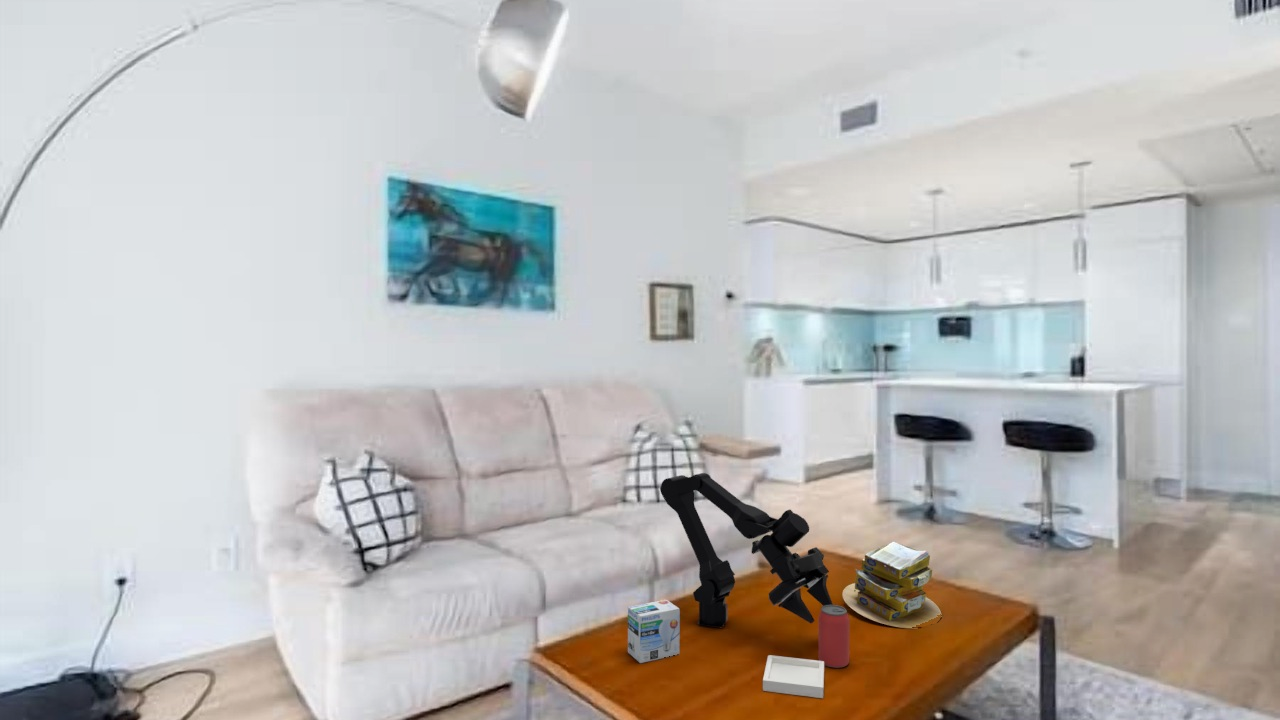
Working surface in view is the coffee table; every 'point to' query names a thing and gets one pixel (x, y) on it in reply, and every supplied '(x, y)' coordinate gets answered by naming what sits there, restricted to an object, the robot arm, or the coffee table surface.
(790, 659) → the dock tray
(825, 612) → the beer can
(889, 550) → the stacked boxes on plate
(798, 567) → the robot arm
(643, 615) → the light bulb box
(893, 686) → the coffee table surface
